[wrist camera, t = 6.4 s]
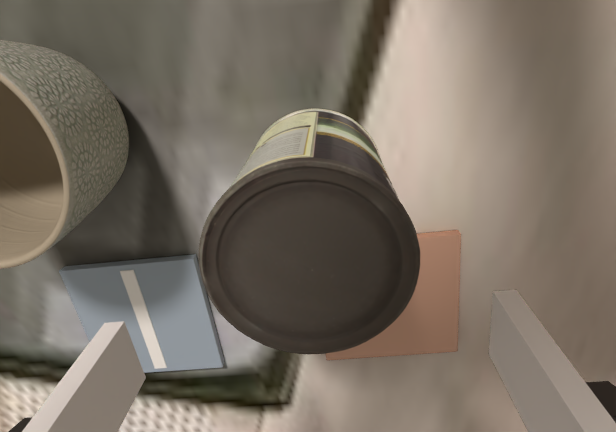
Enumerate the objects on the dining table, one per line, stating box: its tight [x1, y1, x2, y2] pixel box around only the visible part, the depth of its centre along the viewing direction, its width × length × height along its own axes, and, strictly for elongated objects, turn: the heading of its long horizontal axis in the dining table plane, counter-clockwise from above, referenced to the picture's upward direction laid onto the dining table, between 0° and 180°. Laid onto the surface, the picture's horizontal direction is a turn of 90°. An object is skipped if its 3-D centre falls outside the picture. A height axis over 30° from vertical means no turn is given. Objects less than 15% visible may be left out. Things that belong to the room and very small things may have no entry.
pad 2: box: [326, 230, 461, 360], centre depth 36 cm, size 12×12×1 cm
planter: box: [0, 40, 129, 269], centre depth 26 cm, size 12×12×11 cm
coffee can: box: [199, 109, 420, 354], centre depth 25 cm, size 10×10×14 cm
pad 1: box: [59, 254, 225, 373], centre depth 38 cm, size 12×12×1 cm
